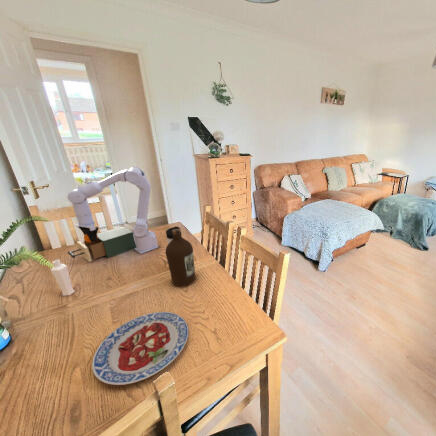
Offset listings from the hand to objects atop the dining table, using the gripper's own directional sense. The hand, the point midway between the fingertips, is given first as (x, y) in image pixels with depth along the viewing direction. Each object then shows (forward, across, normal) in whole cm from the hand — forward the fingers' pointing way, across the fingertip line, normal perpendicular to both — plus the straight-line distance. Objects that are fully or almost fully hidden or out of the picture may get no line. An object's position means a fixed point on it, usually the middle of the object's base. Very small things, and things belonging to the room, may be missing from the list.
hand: (91, 239), depth 118 cm
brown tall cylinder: (+10, +40, +20) cm, 46 cm away
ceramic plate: (+10, +73, -12) cm, 75 cm away
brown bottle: (+10, +52, +16) cm, 55 cm away
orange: (+1, 0, 0) cm, 1 cm away
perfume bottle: (+10, +23, -18) cm, 31 cm away
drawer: (+9, 0, -1) cm, 9 cm away
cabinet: (+10, 0, +10) cm, 14 cm away
